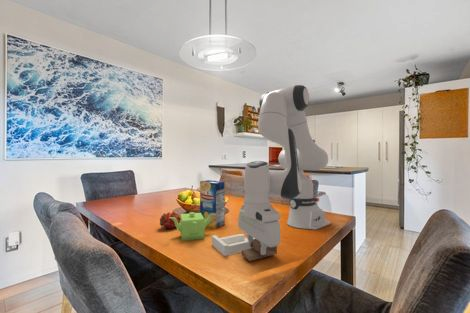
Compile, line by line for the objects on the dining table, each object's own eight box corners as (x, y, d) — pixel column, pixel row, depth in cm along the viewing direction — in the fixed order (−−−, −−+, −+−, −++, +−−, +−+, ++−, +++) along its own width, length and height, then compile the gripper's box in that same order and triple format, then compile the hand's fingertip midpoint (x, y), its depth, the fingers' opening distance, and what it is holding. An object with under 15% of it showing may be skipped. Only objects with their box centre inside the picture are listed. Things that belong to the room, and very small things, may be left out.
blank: (268, 248, 85) (268, 236, 85) (276, 253, 80) (276, 240, 80) (241, 254, 80) (241, 241, 79) (249, 261, 75) (249, 247, 75)
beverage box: (216, 228, 114) (216, 183, 114) (199, 224, 121) (199, 181, 120) (224, 224, 120) (224, 181, 119) (209, 220, 126) (208, 180, 126)
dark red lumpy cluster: (157, 234, 110) (178, 231, 119) (167, 226, 106) (188, 224, 116) (153, 217, 114) (173, 216, 123) (162, 209, 110) (183, 208, 119)
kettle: (195, 248, 91) (195, 219, 91) (167, 242, 97) (166, 215, 97) (215, 235, 104) (215, 210, 104) (189, 230, 111) (189, 207, 110)
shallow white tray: (259, 238, 101) (259, 226, 101) (275, 247, 91) (275, 235, 91) (211, 248, 90) (211, 235, 90) (224, 260, 81) (224, 246, 81)
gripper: (234, 204, 87) (234, 241, 87) (267, 218, 69) (267, 265, 69) (248, 202, 90) (248, 238, 90) (284, 215, 72) (283, 260, 72)
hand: (256, 250), depth 79 cm, fingers closed on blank, 5 cm apart
